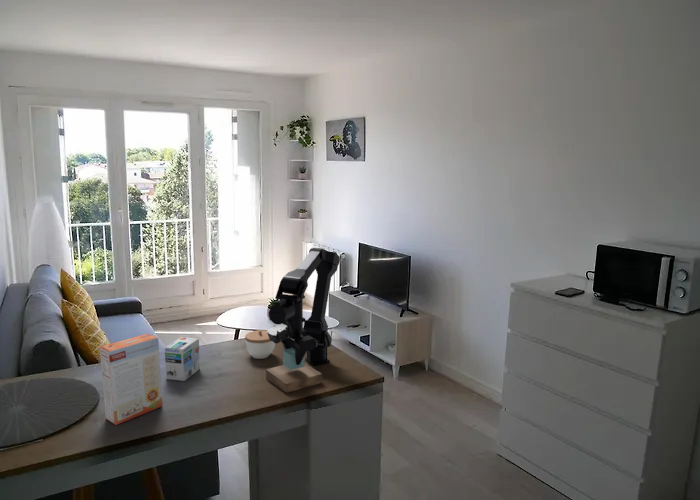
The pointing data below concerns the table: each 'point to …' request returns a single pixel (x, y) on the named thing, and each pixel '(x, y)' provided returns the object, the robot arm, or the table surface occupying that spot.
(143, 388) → the cracker box
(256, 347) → the lidded jar
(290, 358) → the block
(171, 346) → the light bulb box
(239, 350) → the table surface
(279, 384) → the plinth
